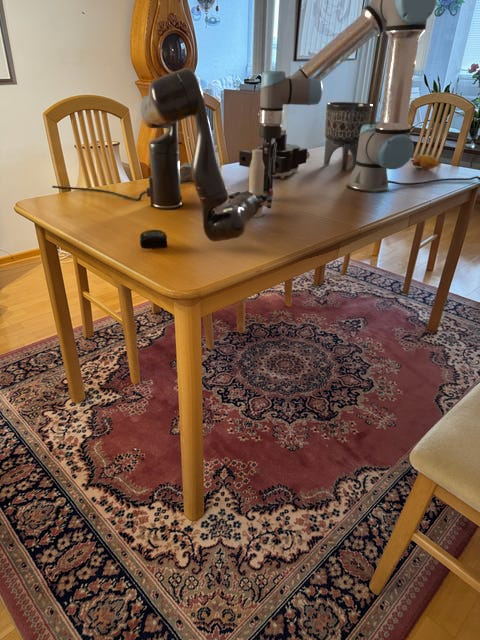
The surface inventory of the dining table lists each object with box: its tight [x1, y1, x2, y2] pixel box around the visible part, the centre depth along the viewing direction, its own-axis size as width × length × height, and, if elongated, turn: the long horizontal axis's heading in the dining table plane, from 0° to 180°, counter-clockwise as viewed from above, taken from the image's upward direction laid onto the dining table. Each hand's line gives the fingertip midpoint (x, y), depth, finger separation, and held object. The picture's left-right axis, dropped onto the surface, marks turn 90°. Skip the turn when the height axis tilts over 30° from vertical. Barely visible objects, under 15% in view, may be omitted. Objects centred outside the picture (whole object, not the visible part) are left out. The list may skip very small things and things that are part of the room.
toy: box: [410, 154, 440, 170], centre depth 211 cm, size 11×6×15 cm
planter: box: [323, 101, 374, 172], centre depth 204 cm, size 20×20×26 cm
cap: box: [270, 188, 274, 197], centre depth 160 cm, size 4×4×2 cm
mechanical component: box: [238, 127, 311, 179], centre depth 191 cm, size 22×21×30 cm
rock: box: [179, 161, 194, 184], centre depth 179 cm, size 13×9×6 cm, turn 131°
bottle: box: [248, 148, 264, 218], centre depth 139 cm, size 4×4×20 cm
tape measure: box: [139, 229, 168, 250], centre depth 117 cm, size 7×7×4 cm
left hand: (257, 193), depth 143 cm, fingers closed on bottle, 4 cm apart
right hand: (267, 195), depth 160 cm, fingers closed on cap, 4 cm apart
